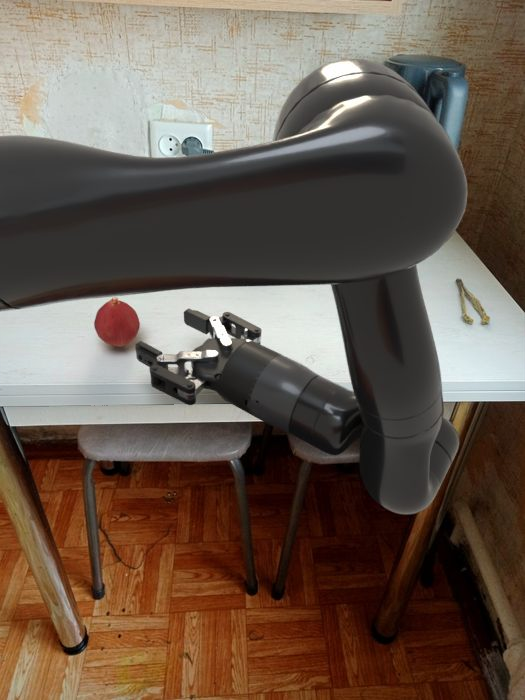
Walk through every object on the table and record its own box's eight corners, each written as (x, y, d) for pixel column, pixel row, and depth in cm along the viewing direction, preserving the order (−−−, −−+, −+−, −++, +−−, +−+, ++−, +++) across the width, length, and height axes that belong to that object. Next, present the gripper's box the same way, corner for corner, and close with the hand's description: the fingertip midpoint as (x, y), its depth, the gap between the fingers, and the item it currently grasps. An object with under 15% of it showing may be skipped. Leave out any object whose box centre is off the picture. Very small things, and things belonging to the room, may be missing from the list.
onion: (89, 351, 69) (80, 302, 64) (114, 328, 73) (107, 281, 68) (126, 363, 68) (119, 314, 63) (149, 339, 72) (144, 292, 67)
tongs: (462, 282, 89) (466, 272, 88) (489, 329, 80) (493, 319, 78) (439, 281, 89) (442, 271, 88) (463, 328, 79) (467, 318, 78)
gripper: (307, 329, 59) (198, 281, 65) (233, 399, 49) (115, 335, 56) (300, 377, 64) (200, 328, 70) (231, 449, 54) (123, 384, 61)
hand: (162, 331), depth 63 cm, fingers open, 8 cm apart
